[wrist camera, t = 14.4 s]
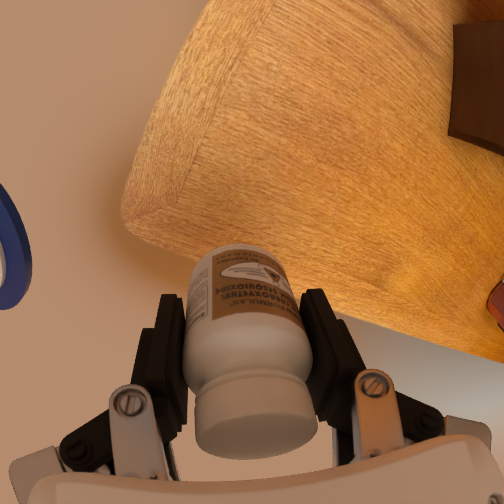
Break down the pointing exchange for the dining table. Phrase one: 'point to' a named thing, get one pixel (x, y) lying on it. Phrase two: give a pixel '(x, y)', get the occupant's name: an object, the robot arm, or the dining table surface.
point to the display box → (478, 85)
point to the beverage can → (497, 304)
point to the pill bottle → (246, 356)
